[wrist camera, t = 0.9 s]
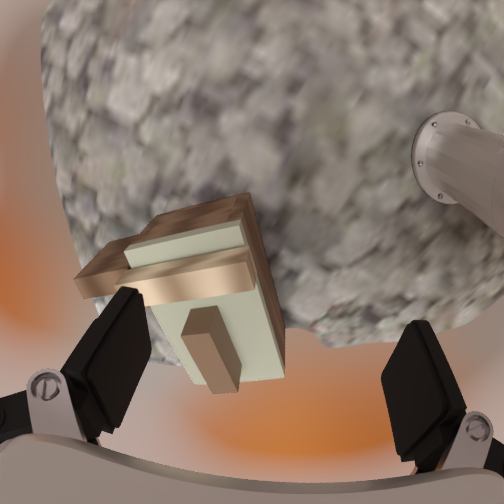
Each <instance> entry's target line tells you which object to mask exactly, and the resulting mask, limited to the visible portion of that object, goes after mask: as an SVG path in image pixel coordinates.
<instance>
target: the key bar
mask: <svg viewBox="0 0 504 504" xmlns="http://www.w3.org/2000/svg"><path fill="white" fill-rule="evenodd" d="M256 277H257V271H256V267H255V264H254V260H253V257H252V253H251V250H250V247H249V246H245V247H240V248H235V249H230V250H225V251H219V252H214V253H209V254H204V255H199V256H194V257H189V258H184V259H179V260H174V261H169V262H164V263H160V264H155V265H150V266H145V267H140V268H135V269H130V270H125V272H124V273H123V274H122V276H121V277H120V278H119V279H118V281H117V282H116V283H115V285H114V287H115V289H116V291H118V290H119V288H120V287H121V286H126V287H132V288H137V289H138V291H139V293H141V294H142V295H143V299H144V305H145V306H152V305H160V304H167V303H174V302H181V301H188V300H195V299H201V298H208V297H215V296H221V295H227V294H234V293H240V292H246V291H252V290H255V284H256Z"/></svg>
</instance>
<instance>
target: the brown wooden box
mask: <svg viewBox="0 0 504 504" xmlns="http://www.w3.org/2000/svg"><path fill="white" fill-rule="evenodd" d="M240 219H241V222H242V225H243V228H244V232H245V235H246V239H247V242H248V245H249V247H250V250H251V253H252V257H253V260H254V264H255V267H256V271H257V276H258V279H259V283H260V286H261V290H262V293H263V296H264V300H265V303H266V307H267V310H268V313H269V317H270V320H271V324H272V327H273V330H274V334H275V337H276V341H277V344H278V347H279V351H280V354H281V357H282V361H283V364H284V368H285V324H284V320H283V316H282V312H281V309H280V305H279V301H278V297H277V293H276V290H275V286H274V282H273V278H272V275H271V271H270V267H269V263H268V260H267V256H266V252H265V248H264V245H263V241H262V237H261V234H260V230H259V226H258V223H257V219H256V215H255V212H254V208H253V204H252V201H251V197H250V193H244V194H240V195H236V196H231V197H227V198H223V199H219V200H215V201H211V202H206V203H202V204H198V205H194V206H191V207H187V208H183V209H179V210H175V211H171V212H168V213H164V214H160V215H157V216H156V217H155V218H154V219H153V220H152V221H151V222H150V223H149V224H148V225H147V226H146V227H145V229H144V230H143V231H142V232H141V233H140V234H138V235H135V236H131V237H127V238H123V239H119V240H116V241H112V242H109V243H108V244H107V245H106V246H105V247H104V248H103V249H102V250H101V251H100V252H99V253H98V254H97V255H96V256H95V257H94V258H93V259H92V260H91V261H90V262H89V263H88V264H87V265H86V266H85V267H84V268H83V270H82V271H81V272H80V273H79V274H78V275H77V276H76V277H75V278H74V279H73V280H74V282H75V284H76V285H77V287H78V289H79V291H80V293H81V295H82V296H83V298H84V299H86V298H93V297H99V296H105V295H112V294H116V292H117V291H116V289H115V287H114V285H115V283H116V282H117V281H118V279H119V278H120V277H121V276H122V274H123V273H124V272H125V270H130V269H131V266H130V264H129V262H128V260H127V258H126V256H125V253H124V251H125V249H126V248H127V247H128V246H129V245H132V244H136V243H140V242H144V241H148V240H153V239H157V238H161V237H165V236H169V235H174V234H178V233H182V232H186V231H191V230H195V229H199V228H204V227H208V226H213V225H217V224H222V223H226V222H231V221H235V220H240Z"/></svg>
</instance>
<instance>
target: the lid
mask: <svg viewBox="0 0 504 504" xmlns="http://www.w3.org/2000/svg"><path fill="white" fill-rule="evenodd" d="M245 246H249V245H248V242H247V239H246V235H245V232H244V228H243V225H242V222H241V219H240V220H235V221H231V222H226V223H222V224H217V225H213V226H208V227H204V228H199V229H195V230H191V231H186V232H182V233H178V234H174V235H169V236H165V237H161V238H157V239H153V240H148V241H144V242H140V243H136V244H132V245H129V246H128V247H127V248H126V249H125V251H124V253H125V256H126V258H127V260H128V262H129V264H130V266H131V269H135V268H140V267H145V266H150V265H155V264H160V263H164V262H169V261H174V260H179V259H184V258H189V257H194V256H199V255H204V254H209V253H214V252H219V251H225V250H230V249H235V248H240V247H245ZM150 307H151V309H152V311H153V313H154V315H155V317H156V318H157V320H158V322H159V324H160V326H161V328H162V330H163V331H164V333H165V335H166V337H167V339H168V340H169V342H170V344H171V346H172V347H173V349H174V351H175V353H176V354H177V356H178V358H179V360H180V361H181V363H182V365H183V366H184V368H185V370H186V371H187V373H188V375H189V376H190V378H191V380H192V381H193V382H194V384H196V385H198V384H207V385H208V386H209V388H210V390H211V392H212V393H213V394H220V393H237V392H238V389H239V383H240V382H246V381H256V380H267V379H276V378H284V377H285V368H284V364H283V361H282V357H281V354H280V351H279V347H278V344H277V341H276V337H275V334H274V330H273V327H272V324H271V320H270V317H269V313H268V310H267V307H266V303H265V300H264V296H263V293H262V290H261V286H260V283H259V279H258V276H257V277H256V284H255V290H252V291H246V292H240V293H234V294H227V295H221V296H215V297H208V298H201V299H195V300H188V301H181V302H174V303H167V304H160V305H152V306H150Z"/></svg>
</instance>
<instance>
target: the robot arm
mask: <svg viewBox="0 0 504 504" xmlns="http://www.w3.org/2000/svg"><path fill="white" fill-rule="evenodd" d="M432 123H433V125H432ZM418 161H419V163H418ZM417 163H418V164H417ZM412 165H413V170H414V174H415V176H416V179H417V181H418V183H419V185H420V186H421V188H422V189H423V190H424V191H425V192H426V193H427V194H428V195H429V196H430V197H432V198H433V199H434V200H436V201H438V202H441V203H444V204H458V203H459V204H461V205H462V206H463V207H465V208H466V209H467V210H469V211H470V212H471V213H473V214H474V215H475V216H477V217H478V218H479V219H480V220H482V221H483V222H484V223H485V224H487V225H488V226H489V227H490V228H492V229H493V230H494V231H495V232H496V233H498V234H499V235H500V236H501V237H503V238H504V136H501V135H498V134H495V133H491V132H488V131H484V130H481V129H480V128H479V126H478V125H477V124H476V123H475V122H474V121H473V120H472V119H471V118H470V117H468V116H466V115H465V114H462V113H459V112H454V111H443V112H440V113H436V114H435V115H433V116H431V117H430V118H428V119H427V120H426V121H425V122H424V123H423V125H422V126H421V128H420V129H419V131H418V133H417V135H416V137H415V140H414V144H413V150H412ZM438 194H439V195H438ZM151 350H152V347H151V341H150V336H149V330H148V324H147V318H146V312H145V305H144V299H143V295H142V294H141V293H139V291H138V289H137V288H132V287H126V286H121V287H120V288H119V290H118V291H117V292H116V294H115V295H114V296H113V298H112V299H111V300H110V302H109V303H108V305H107V306H106V307H105V309H104V310H103V312H102V313H101V314H100V316H99V317H98V318H97V319H95V320H94V321H93V323H92V324H91V325H90V327H89V328H88V330H87V331H86V333H85V334H84V336H83V337H82V338H81V340H80V341H79V343H78V344H77V346H76V347H75V349H74V350H73V352H72V353H71V355H70V356H69V358H68V359H67V361H66V363H65V364H64V366H63V367H62V369H61V370H60V372H59V371H57V370H55V369H43V370H40V371H38V372H36V373H35V374H33V375H32V377H31V378H30V379H29V381H28V384H27V390H25V391H21V392H18V393H15V394H12V395H9V396H6V397H2V398H0V504H504V444H502V443H501V442H499V441H497V440H496V439H495V438H493V426H492V423H491V421H490V420H489V418H488V417H487V416H485V415H484V414H483V413H480V412H477V411H472V412H469V413H468V414H466V411H465V410H466V408H467V407H466V404H465V402H464V399H463V396H462V394H461V392H460V389H459V387H458V384H457V382H456V379H455V377H454V375H453V372H452V370H451V368H450V365H449V363H448V361H447V359H446V357H445V354H444V352H443V350H442V348H441V346H440V344H439V342H438V340H437V338H436V335H435V333H434V331H433V329H432V327H431V325H430V323H429V322H428V321H426V320H413V321H412V322H411V323H410V324H407V326H406V327H405V329H404V332H403V334H402V336H401V338H400V340H399V342H398V344H397V346H396V348H395V349H394V351H393V353H392V355H391V357H390V359H389V361H388V363H387V365H386V367H385V369H384V370H383V372H382V375H381V382H382V387H383V391H384V395H385V399H386V403H387V408H388V413H389V417H390V422H391V427H392V432H393V437H394V442H395V447H396V452H397V454H398V455H400V457H401V461H402V462H407V461H413V460H414V461H415V467H414V469H413V471H412V472H411V474H410V475H409V476H401V477H395V478H386V479H378V480H368V481H356V482H336V483H290V482H289V483H288V482H271V481H259V480H248V479H239V478H231V477H224V476H217V475H211V474H205V473H199V472H194V471H189V470H184V469H180V468H175V467H170V466H166V465H162V464H158V463H154V462H151V461H147V460H143V459H139V458H136V457H132V456H129V455H126V454H122V453H119V452H116V451H112V450H110V449H107V448H104V447H102V446H101V444H100V441H99V439H98V437H99V436H100V433H101V431H104V432H107V433H110V434H113V431H114V429H115V428H119V427H120V425H121V423H122V421H123V418H124V416H125V413H126V411H127V408H128V406H129V404H130V401H131V399H132V396H133V394H134V392H135V390H136V387H137V385H138V383H139V380H140V378H141V376H142V373H143V371H144V369H145V367H146V365H147V362H148V360H149V358H150V355H151Z"/></svg>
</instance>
